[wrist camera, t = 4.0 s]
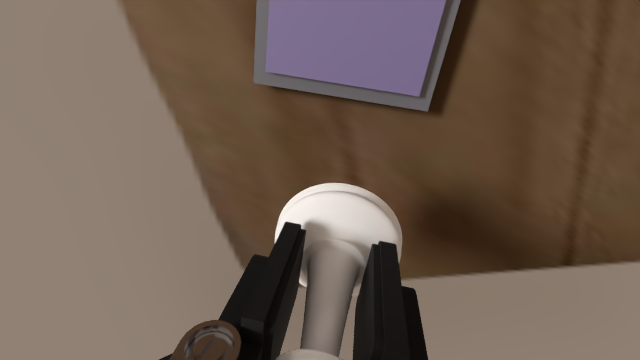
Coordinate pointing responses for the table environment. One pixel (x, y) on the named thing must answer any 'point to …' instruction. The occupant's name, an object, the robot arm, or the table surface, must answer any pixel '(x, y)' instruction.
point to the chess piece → (334, 258)
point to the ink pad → (354, 47)
